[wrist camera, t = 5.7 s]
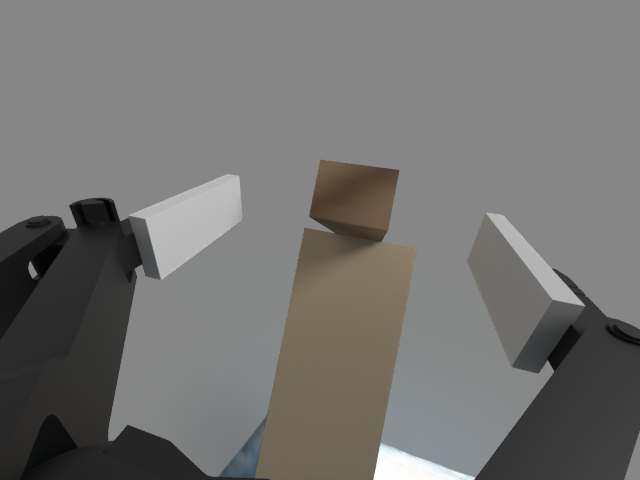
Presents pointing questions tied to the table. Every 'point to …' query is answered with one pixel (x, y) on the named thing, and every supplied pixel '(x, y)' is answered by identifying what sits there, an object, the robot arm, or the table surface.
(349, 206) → the brown rectangular bar
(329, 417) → the carton
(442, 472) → the table surface
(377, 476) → the table surface
